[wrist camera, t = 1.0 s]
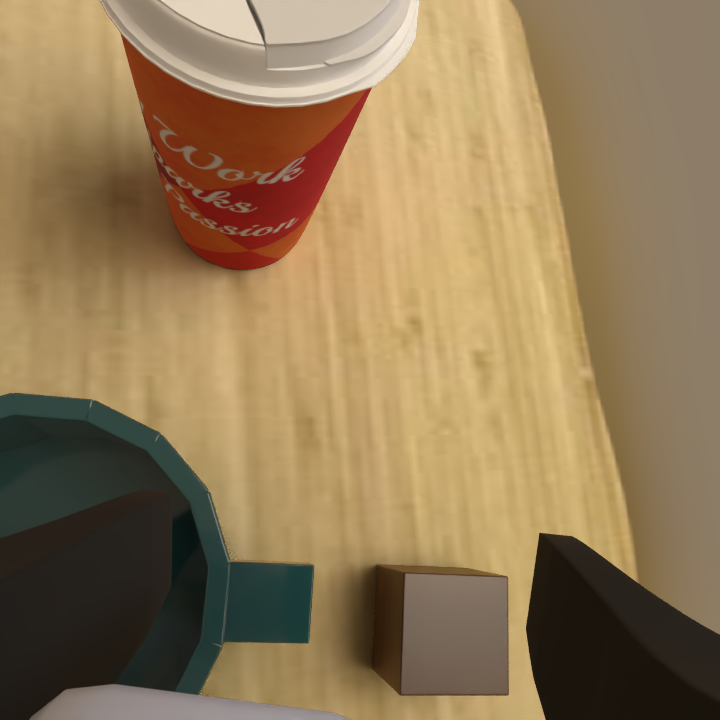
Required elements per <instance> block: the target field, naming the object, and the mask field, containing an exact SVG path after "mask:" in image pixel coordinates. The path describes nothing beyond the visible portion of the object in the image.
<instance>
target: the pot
mask: <svg viewBox="0 0 720 720" xmlns="http://www.w3.org/2000/svg"><path fill="white" fill-rule="evenodd" d="M142 490H146V491H155V492H164V493H173V513H172V580H171V589H170V591H169V593H168V595H167V597H166V600H165V602H164V604H163V606H162V608H161V610H160V612H159V614H158V616H157V618H156V620H155V622H154V624H153V626H152V628H151V630H150V632H149V633H148V635H147V636H146V638H145V639H144V641H143V642H142V644H141V645H140V647H139V648H138V650H137V651H136V653H135V654H134V656H133V657H132V659H131V660H130V662H129V663H128V665H127V666H126V668H125V669H124V671H123V672H122V674H121V675H120V677H119V678H118V680H117V681H116V683H115V684H117V685H125V686H133V687H141V688H148V689H156V690H164V691H171V692H179V693H187V694H194V695H199V694H200V692H201V690H202V688H203V686H204V684H205V682H206V680H207V678H208V676H209V673H210V671H211V669H212V667H213V665H214V663H215V661H216V659H217V657H218V655H219V653H220V651H221V649H222V644H223V643H224V642H252V643H309V638H310V623H311V608H312V593H313V578H314V565H313V564H311V563H303V562H279V561H255V560H231V559H230V557H229V554H228V551H227V547H226V544H225V541H224V537H223V534H222V530H221V527H220V524H219V520H218V517H217V514H216V510H215V507H214V504H213V500H212V497H211V494H210V492H209V490H208V488H207V487H206V486H205V485H204V483H203V482H202V481H201V480H200V479H199V477H198V476H197V475H196V474H195V473H194V471H193V470H192V469H191V468H190V467H189V465H188V464H187V463H186V462H185V461H184V460H183V458H182V457H181V456H180V455H179V454H178V452H177V451H176V450H175V449H174V448H173V446H172V445H171V444H170V443H169V442H168V441H167V439H166V438H165V437H164V436H163V435H161V434H160V433H159V432H157V431H155V430H153V429H151V428H149V427H147V426H145V425H143V424H141V423H139V422H137V421H135V420H133V419H131V418H129V417H127V416H125V415H124V414H122V413H120V412H118V411H116V410H114V409H112V408H110V407H108V406H106V405H104V404H102V403H100V402H98V401H93V400H91V399H80V398H69V397H57V396H45V395H34V394H22V393H14V394H13V393H10V394H6V395H2V396H0V538H2V537H5V536H9V535H12V534H15V533H18V532H21V531H24V530H27V529H30V528H33V527H36V526H39V525H42V524H45V523H48V522H51V521H54V520H57V519H60V518H62V517H65V516H68V515H70V514H73V513H76V512H79V511H81V510H84V509H87V508H89V507H92V506H95V505H97V504H100V503H103V502H106V501H108V500H111V499H114V498H117V497H120V496H123V495H126V494H129V493H133V492H137V491H142Z"/></svg>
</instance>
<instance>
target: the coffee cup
mask: <svg viewBox="0 0 720 720" xmlns="http://www.w3.org/2000/svg"><path fill="white" fill-rule="evenodd" d="M100 2H101V4H102V6H103V8H104V10H105V12H106V13H107V15H108V17H109V18H110V19H111V21H112V22H113V23H114V25H115V26H116V27H117V29H118V30H119V31H120V33H121V37H122V40H123V44H124V47H125V51H126V55H127V58H128V62H129V66H130V69H131V73H132V77H133V80H134V84H135V88H136V91H137V95H138V99H139V102H140V106H141V110H142V113H143V117H144V121H145V124H146V128H147V131H148V135H149V139H150V142H151V146H152V149H153V153H154V157H155V160H156V164H157V167H158V171H159V175H160V178H161V181H162V185H163V188H164V192H165V195H166V199H167V202H168V205H169V208H170V211H171V214H172V217H173V220H174V222H175V225H176V227H177V229H178V231H179V233H180V235H181V236H182V238H183V239H184V241H185V242H186V243H187V244H188V246H189V247H190V248H191V249H192V250H193V251H194V252H196V253H197V254H198V255H199V256H201V257H202V258H204V259H206V260H207V261H209V262H211V263H213V264H216V265H218V266H222V267H225V268H230V269H238V270H248V269H256V268H261V267H264V266H267V265H270V264H272V263H274V262H276V261H278V260H279V259H281V258H282V257H283V256H285V255H286V254H287V253H288V252H289V251H290V250H291V249H292V248H293V247H294V246H295V244H296V243H297V241H298V240H299V238H300V237H301V235H302V233H303V232H304V230H305V228H306V226H307V224H308V222H309V220H310V218H311V216H312V214H313V212H314V210H315V208H316V206H317V204H318V202H319V199H320V197H321V195H322V193H323V191H324V189H325V187H326V185H327V183H328V181H329V178H330V176H331V174H332V172H333V170H334V168H335V166H336V164H337V161H338V159H339V157H340V155H341V153H342V151H343V149H344V146H345V144H346V142H347V140H348V138H349V136H350V134H351V131H352V129H353V127H354V125H355V123H356V121H357V118H358V116H359V114H360V112H361V110H362V108H363V106H364V103H365V101H366V99H367V97H368V95H369V93H370V91H371V88H372V87H375V86H376V85H378V84H379V83H380V82H381V81H382V80H384V79H385V78H386V77H387V76H389V75H390V74H391V73H392V72H393V71H394V70H395V68H396V67H397V66H398V65H399V64H400V62H401V61H402V60H403V59H404V58H405V56H406V55H407V53H408V51H409V49H410V47H411V45H412V44H413V42H414V40H415V38H416V29H417V16H418V7H419V0H100Z"/></svg>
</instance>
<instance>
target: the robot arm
mask: <svg viewBox="0 0 720 720" xmlns="http://www.w3.org/2000/svg"><path fill="white" fill-rule="evenodd" d="M172 513H173V493H164V492H155V491H146V490H142V491H137V492H133V493H129V494H126V495H123V496H120V497H117V498H114V499H111V500H108V501H106V502H103V503H100V504H97V505H95V506H92V507H89V508H87V509H84V510H81V511H79V512H76V513H73V514H70V515H68V516H65V517H62V518H60V519H57V520H54V521H51V522H48V523H45V524H42V525H39V526H36V527H33V528H30V529H27V530H24V531H21V532H18V533H15V534H12V535H9V536H5V537H2V538H0V720H351V719H348V718H346V717H343V716H340V715H337V714H335V713H332V712H325V711H317V710H309V709H302V708H294V707H286V706H279V705H271V704H263V703H256V702H248V701H240V700H233V699H225V698H217V697H210V696H202V695H194V694H187V693H179V692H171V691H164V690H156V689H148V688H141V687H133V686H125V685H117V684H115V683H116V681H117V680H118V678H119V677H120V675H121V674H122V672H123V671H124V669H125V668H126V666H127V665H128V663H129V662H130V660H131V659H132V657H133V656H134V654H135V653H136V651H137V650H138V648H139V647H140V645H141V644H142V642H143V641H144V639H145V638H146V636H147V635H148V633H149V632H150V630H151V628H152V626H153V624H154V622H155V620H156V618H157V616H158V614H159V612H160V610H161V608H162V606H163V604H164V602H165V600H166V597H167V595H168V593H169V591H170V589H171V580H172ZM526 633H527V640H528V647H529V654H530V660H531V666H532V672H533V677H534V681H535V684H536V688H537V691H538V695H539V698H540V702H541V705H542V708H543V712H544V715H545V719H546V720H720V635H719V634H717V633H715V632H714V631H712V630H710V629H708V628H706V627H704V626H703V625H701V624H699V623H698V622H696V621H694V620H693V619H691V618H689V617H688V616H686V615H684V614H683V613H681V612H680V611H678V610H677V609H675V608H674V607H672V606H670V605H669V604H668V603H666V602H664V601H663V600H662V599H660V598H658V597H657V596H656V595H654V594H653V593H651V592H650V591H648V590H647V589H645V588H644V587H643V586H641V585H640V584H638V583H637V582H636V581H634V580H633V579H632V578H630V577H629V576H627V575H626V574H625V573H623V572H622V571H621V570H619V569H618V568H617V567H615V566H614V565H613V564H611V563H610V562H609V561H607V560H606V559H605V558H603V557H602V556H601V555H599V554H598V553H597V552H595V551H594V550H593V549H591V548H590V547H588V546H587V545H586V544H584V543H583V542H581V541H579V540H578V539H576V538H574V537H572V536H564V535H554V534H545V533H539V541H538V548H537V555H536V562H535V569H534V576H533V583H532V590H531V597H530V604H529V611H528V618H527V625H526Z"/></svg>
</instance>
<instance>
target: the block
mask: <svg viewBox="0 0 720 720" xmlns="http://www.w3.org/2000/svg"><path fill="white" fill-rule="evenodd" d="M373 670H374V671H375V672H376V673H377V674H378V675H379V676H381V677H382V678H383V679H384V680H385V681H386V682H387V683H388V684H389V685H390V686H391V687H392V688H393V689H394V690H395V691H396V692H397V693H398V694H399V695H508V694H509V681H508V577H507V576H503V575H498V574H493V573H488V572H483V571H479V570H474V569H469V568H451V567H428V566H404V565H380V564H378V565H377V577H376V600H375V623H374V646H373Z"/></svg>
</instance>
